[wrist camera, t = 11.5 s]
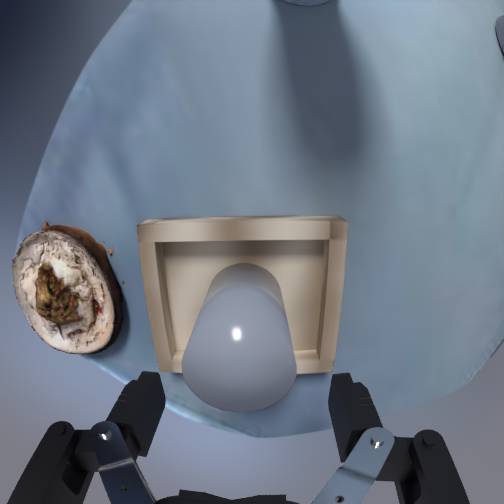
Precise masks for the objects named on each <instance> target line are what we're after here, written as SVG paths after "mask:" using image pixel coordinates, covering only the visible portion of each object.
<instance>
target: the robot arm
mask: <svg viewBox="0 0 504 504" xmlns="http://www.w3.org/2000/svg"><path fill="white" fill-rule="evenodd" d="M496 32H497V37H498V40H499V43H500V46H501V48H502V50H503V53H504V15H503V16H501V17H499V18H498V19H497V21H496ZM165 401H166V400H165V393H164V390H163V386H162V382H161V378H160V375H159V373H158V372H148V371H143V372H142V373H141V374H140V376H139V378H138V380H132V381H131V382H129V383H128V384H127V385H126V386H125V387H124V389H123V391H122V392H121V395H120V396H119V398H118V401H116V403H115V405H114V407H113V408H112V410H111V412H110V414H109V416H108V418H107V419H106V421H102V422H99V423H97V424H95V425H94V426H93V427H92V428H91V430H74V428H73V426H72V425H71V424H70V423H68V422H65V421H59V422H56V423H54V424H52V425H51V426H50V427H49V428H48V430H47V432H46V433H45V435H44V437H43V438H42V440H41V442H40V443H39V445H38V447H37V449H36V451H35V452H34V454H33V456H32V458H31V459H30V461H29V463H28V464H27V466H26V468H25V470H24V472H23V474H22V475H21V477H20V479H19V481H18V483H17V485H16V487H15V489H14V491H13V493H12V495H11V497H10V499H9V501H8V503H7V504H83V501H84V498H85V496H86V493H87V491H88V488H89V485H90V483H91V480H92V478H93V475H94V472H99V474H100V477H101V479H102V482H103V485H104V487H105V490H106V492H107V495H108V497H109V500H110V502H111V504H299V503H296V502H292V501H286V495H258V496H253V497H247V498H241V499H235V500H229V499H226V498H222V497H218V496H215V495H212V494H208V493H205V492H196V491H187V490H180V491H179V495H178V496H170V497H166V498H163V499H160V500H158V501H157V499H156V498H155V496H154V495H153V493H152V491H151V490H150V488H149V486H148V484H147V482H146V480H145V478H144V476H143V475H142V472H141V471H140V469H139V466H138V464H137V462H136V459H137V457H138V456H143V457H146V456H147V454H148V451H149V448H150V445H151V443H152V440H153V437H154V434H155V432H156V429H157V426H158V424H159V421H160V418H161V416H162V413H163V410H164V408H165ZM328 406H329V412H330V416H331V421H332V425H333V429H334V433H335V438H336V442H337V446H338V451H339V455H340V460H341V463H342V462H344V464H343V465H342V467H339V468H338V469H337V470H336V472H335V473H334V474H333V476H332V477H331V478H330V480H329V481H328V482H327V484H326V485H325V486H324V488H323V489H322V490H321V492H320V493H319V494H318V496H317V497H316V498H315V499H314V500H313V502H312V503H311V504H361V503H362V501H363V500H364V498H365V496H366V495H367V493H368V491H369V490H370V488H371V486H372V485H373V483H374V481H375V480H376V481H394V482H395V486H396V490H397V495H398V499H399V503H400V504H470V503H469V500H468V497H467V495H466V492H465V489H464V487H463V484H462V482H461V479H460V477H459V474H458V472H457V469H456V467H455V465H454V462H453V460H452V458H451V455H450V453H449V451H448V449H447V446H446V444H445V442H444V440H443V437H442V436H441V435H440V434H439V433H438V432H436V431H434V430H422V431H420V432H419V433H417V434H416V435H415V437H414V438H405V437H396V436H393V434H392V433H391V432H390V431H388V430H387V429H385V428H383V426H382V423H381V421H380V418H379V416H378V413H377V411H376V408H375V406H374V404H373V401H372V399H371V396H370V394H369V391H368V389H367V388H366V387H365V386H364V385H363V384H362V383H361V382H357V383H353V381H352V378H351V375H350V373H340V374H333V375H332V380H331V386H330V392H329V399H328Z"/></svg>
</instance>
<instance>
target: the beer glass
mask: <svg viewBox="0 0 504 504" xmlns="http://www.w3.org/2000/svg"><path fill="white" fill-rule="evenodd" d="M283 1H286V2H288V3H292V4H296V5H303V6H313V5H319V4H323V3H325V2H327V1H329V0H283Z"/></svg>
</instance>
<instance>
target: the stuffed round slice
mask: <svg viewBox="0 0 504 504" xmlns="http://www.w3.org/2000/svg"><path fill="white" fill-rule="evenodd" d="M103 242H104V241H103ZM104 243H105V242H104ZM113 250H114V249H113V248H112V247H111V249H110V250H109V254H111V253H112V252H113ZM114 253H115V252H114ZM16 255H18V256H17V257H15V258H14V259H13V260H12V261H13V264H12V270H13V281H14V285H13V287H14V289H15V294H16V298H17V299H18V302H19V304H20V306H21V308H22V310H23V313H24V315H25V316H26V318H27V320H28V322H29V324H30V325H31V327H32V328H33V329H34V331H36V332H37V333H38V335H39V336H40V337H41V338H42V340H44V341H45V342H46V343H47V344H48V345H50V346H51V347H53V348H54V349H57V350H59V351H63V352H66V353H70V354H95V353H99V352H102V351H103V350H105V349H107V348H108V347H109V346H111V345H112V344H113V343H114V342H115V341H116V339H117V337H118V335H119V333H120V330H121V326H122V322H123V311H122V304H121V303H122V302H123V297H122V294H121V288H120V286H119V284H118V282H117V281H116V280H115V277H114V275H113V273H112V271H111V267H110V266H109V263H108V260H107V257H106V250H105V248H104V247H103V246H102V245H101V244H98V243H96V242H95V240H94V238H92V237H91V236H90V235H89V234H88V233H87V232H84V231H82V230H79V229H77V228H72V227H68V226H62V225H53V226H47V222H46V221H45V227H43V228H42V230H41V231H38V232H37V233H34V234H30V235H29V237H27V238H25V239H24V240H23V242H22V243H21V244H20V248H19V250H18V252H17V253H16ZM124 283H125V282H124V281H122V284H124Z"/></svg>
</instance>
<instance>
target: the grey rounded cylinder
mask: <svg viewBox="0 0 504 504" xmlns="http://www.w3.org/2000/svg"><path fill="white" fill-rule="evenodd" d="M181 366H182V373H183V377H184V380H185V382H186V384H187V385H188V387H189V388H190V390H191V391H192V392H193V393H194V394H195V395H196V396H197V397H198V398H199V399H201V400H202V401H204V402H205V403H207V404H209V405H211V406H213V407H216V408H218V409H221V410H225V411H231V412H252V411H258V410H262V409H264V408H267V407H269V406H272V405H274V404H275V403H277V402H279V401H280V400H281V399H282V398H284V397H285V396H286V395H287V393H288V392H289V391H290V389H291V388H292V386H293V384H294V382H295V379H296V374H297V365H296V360H295V355H294V350H293V345H292V340H291V335H290V330H289V325H288V321H287V316H286V311H285V306H284V302H283V297H282V292H281V288H280V285H279V283H278V281H277V280H276V278H275V277H274V276H273V275H272V274H271V273H270V272H269V271H268V270H266V269H265V268H263V267H261V266H258V265H255V264H251V263H238V264H233V265H230V266H228V267H226V268H224V269H223V270H221V271H220V272H219V273H218V274H217V275H216V276H215V277H214V278H213V280H212V282H211V284H210V286H209V289H208V291H207V294H206V296H205V299H204V301H203V304H202V307H201V309H200V312H199V314H198V317H197V320H196V322H195V325H194V327H193V330H192V333H191V335H190V338H189V341H188V343H187V346H186V349H185V351H184V354H183V358H182V365H181Z"/></svg>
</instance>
